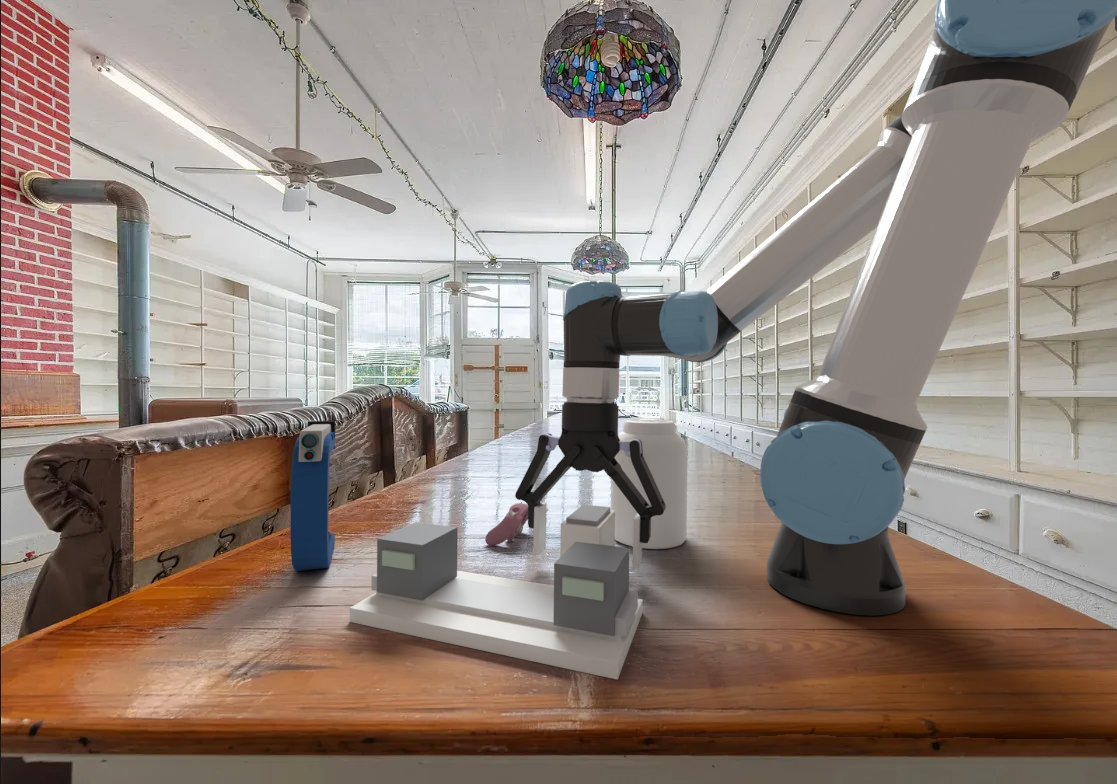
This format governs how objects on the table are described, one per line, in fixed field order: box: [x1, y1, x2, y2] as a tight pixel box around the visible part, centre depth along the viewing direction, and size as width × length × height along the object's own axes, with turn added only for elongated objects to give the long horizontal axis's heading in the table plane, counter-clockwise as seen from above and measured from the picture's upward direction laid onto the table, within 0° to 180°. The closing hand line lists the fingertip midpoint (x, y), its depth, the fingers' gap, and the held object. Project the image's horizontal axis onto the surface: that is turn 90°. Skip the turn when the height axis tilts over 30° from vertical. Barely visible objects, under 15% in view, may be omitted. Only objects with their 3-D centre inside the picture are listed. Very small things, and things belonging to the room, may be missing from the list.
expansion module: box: [559, 504, 616, 558], centre depth 64 cm, size 5×9×9 cm, turn 161°
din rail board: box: [349, 521, 644, 680], centre depth 52 cm, size 29×13×8 cm, turn 71°
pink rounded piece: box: [485, 501, 528, 547], centre depth 79 cm, size 10×5×7 cm, turn 169°
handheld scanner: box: [289, 420, 336, 572], centre depth 68 cm, size 5×16×20 cm, turn 21°
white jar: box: [610, 418, 689, 550], centre depth 80 cm, size 12×12×20 cm
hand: (586, 559), depth 64 cm, fingers open, 13 cm apart
